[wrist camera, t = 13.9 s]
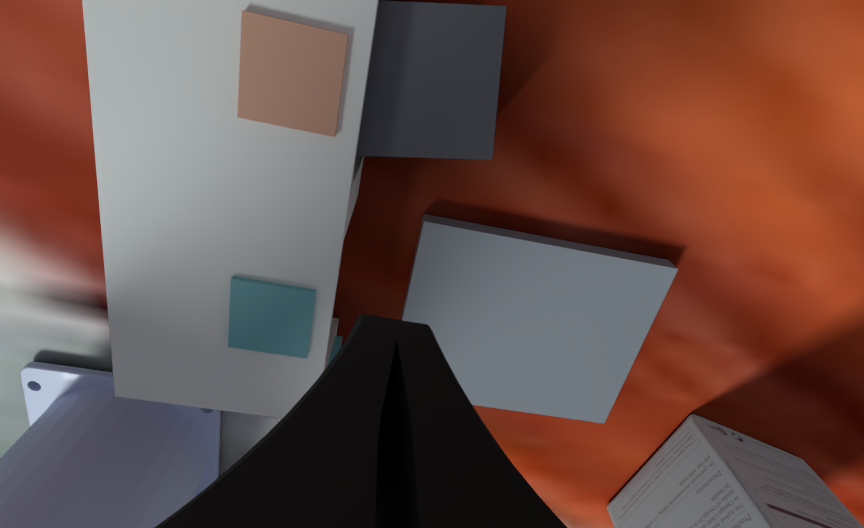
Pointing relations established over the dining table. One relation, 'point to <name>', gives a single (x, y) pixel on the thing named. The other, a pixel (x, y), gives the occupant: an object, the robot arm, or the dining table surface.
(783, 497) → the supplement box
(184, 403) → the socket bar
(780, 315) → the dining table surface
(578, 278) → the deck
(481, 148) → the plug
